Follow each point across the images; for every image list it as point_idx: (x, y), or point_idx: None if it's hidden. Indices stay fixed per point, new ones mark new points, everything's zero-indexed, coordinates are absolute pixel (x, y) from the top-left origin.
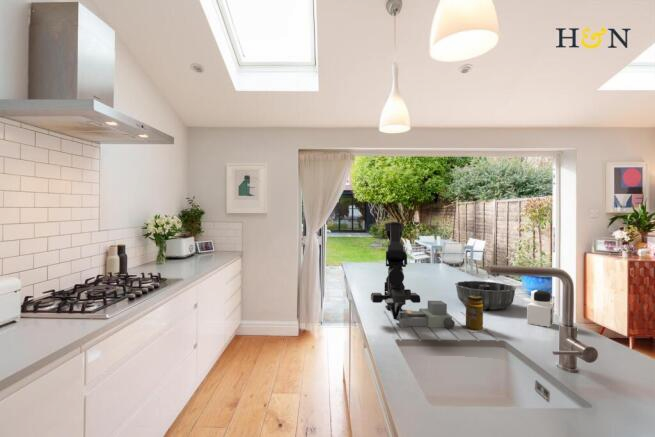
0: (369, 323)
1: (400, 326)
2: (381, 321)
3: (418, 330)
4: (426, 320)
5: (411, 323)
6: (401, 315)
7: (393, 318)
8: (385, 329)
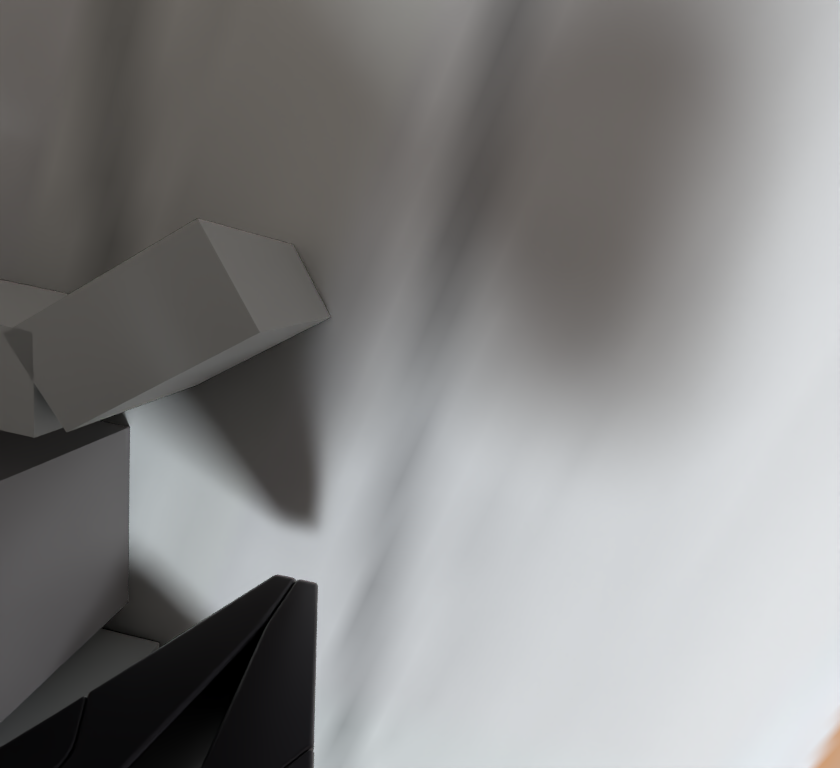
0: (810, 615)
1: (310, 286)
2: (527, 660)
3: (29, 6)
4: None
5: (42, 298)
6: None
7: None
8: (691, 197)
